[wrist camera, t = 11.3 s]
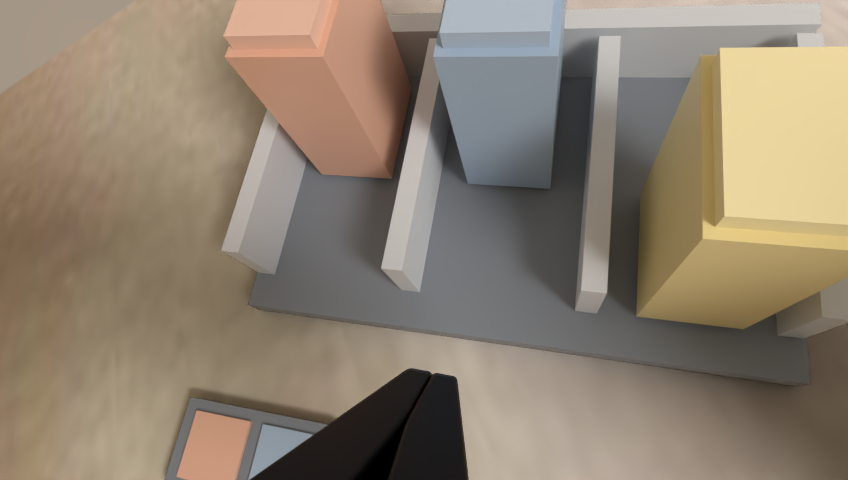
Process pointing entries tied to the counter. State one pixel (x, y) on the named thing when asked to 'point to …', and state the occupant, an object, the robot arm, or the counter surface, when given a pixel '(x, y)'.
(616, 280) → the grey divided tray
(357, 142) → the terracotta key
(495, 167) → the pale blue block
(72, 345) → the counter surface
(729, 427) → the counter surface
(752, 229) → the yellow block
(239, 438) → the tile
